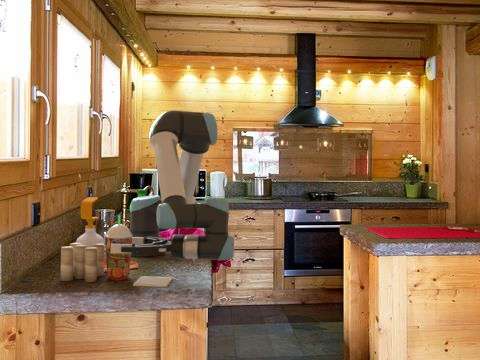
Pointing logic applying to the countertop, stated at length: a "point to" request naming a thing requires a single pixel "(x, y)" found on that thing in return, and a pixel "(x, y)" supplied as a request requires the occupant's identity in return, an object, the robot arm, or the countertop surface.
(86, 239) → the soap bottle
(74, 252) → the spacer posts
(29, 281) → the countertop surface
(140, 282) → the plate
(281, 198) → the countertop surface
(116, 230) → the smoothie
